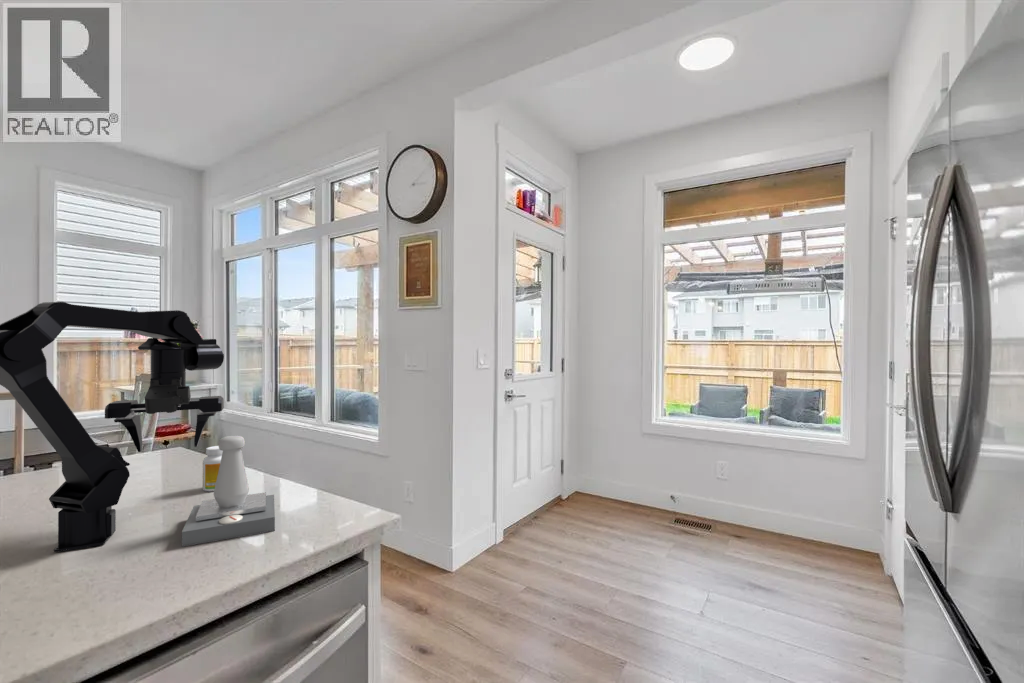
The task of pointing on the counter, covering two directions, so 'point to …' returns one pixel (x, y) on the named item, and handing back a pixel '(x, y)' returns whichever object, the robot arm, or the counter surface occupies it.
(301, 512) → the counter surface
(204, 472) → the supplement bottle
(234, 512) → the scale pan
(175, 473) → the counter surface
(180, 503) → the counter surface
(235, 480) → the salt shaker
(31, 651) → the counter surface
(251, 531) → the scale
